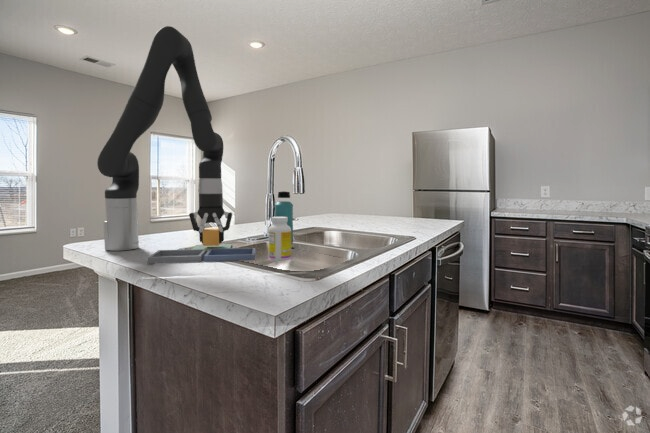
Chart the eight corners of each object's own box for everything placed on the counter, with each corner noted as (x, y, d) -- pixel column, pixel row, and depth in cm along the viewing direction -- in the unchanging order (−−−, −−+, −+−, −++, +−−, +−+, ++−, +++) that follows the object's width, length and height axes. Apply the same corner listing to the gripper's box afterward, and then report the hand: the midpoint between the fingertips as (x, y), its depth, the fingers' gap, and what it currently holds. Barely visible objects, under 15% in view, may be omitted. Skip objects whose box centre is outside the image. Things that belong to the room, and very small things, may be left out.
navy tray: (204, 263, 99) (203, 256, 99) (209, 255, 109) (209, 248, 109) (254, 261, 101) (254, 254, 101) (255, 254, 112) (255, 247, 111)
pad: (189, 254, 110) (189, 251, 110) (196, 247, 122) (196, 244, 121) (228, 253, 112) (228, 250, 112) (231, 246, 124) (231, 244, 124)
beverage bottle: (283, 246, 124) (282, 191, 122) (297, 249, 121) (297, 191, 119) (270, 249, 119) (269, 191, 117) (284, 252, 115) (284, 191, 113)
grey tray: (147, 264, 96) (147, 257, 96) (158, 256, 107) (158, 250, 106) (200, 263, 99) (200, 256, 99) (206, 255, 109) (206, 249, 109)
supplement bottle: (293, 257, 107) (293, 216, 106) (288, 262, 100) (288, 218, 99) (271, 257, 107) (271, 215, 106) (266, 262, 101) (265, 218, 100)
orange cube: (202, 245, 114) (202, 230, 113) (205, 243, 119) (205, 228, 118) (218, 245, 115) (218, 230, 114) (220, 242, 119) (220, 228, 119)
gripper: (234, 192, 120) (234, 240, 121) (190, 191, 117) (191, 241, 119) (232, 192, 112) (232, 244, 114) (185, 192, 110) (187, 245, 112)
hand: (211, 242), depth 116 cm, fingers closed on orange cube, 5 cm apart
